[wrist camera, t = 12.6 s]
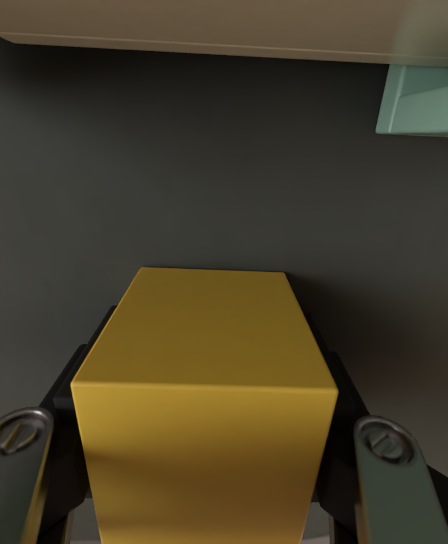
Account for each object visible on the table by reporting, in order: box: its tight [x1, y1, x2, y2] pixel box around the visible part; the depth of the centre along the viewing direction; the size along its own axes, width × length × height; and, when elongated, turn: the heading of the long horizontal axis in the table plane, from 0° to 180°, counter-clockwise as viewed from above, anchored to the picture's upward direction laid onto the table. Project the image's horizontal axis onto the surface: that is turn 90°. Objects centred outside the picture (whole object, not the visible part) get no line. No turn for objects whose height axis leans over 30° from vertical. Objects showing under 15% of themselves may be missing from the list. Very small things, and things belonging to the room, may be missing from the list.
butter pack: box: [71, 267, 338, 544], centre depth 9 cm, size 4×6×5 cm
